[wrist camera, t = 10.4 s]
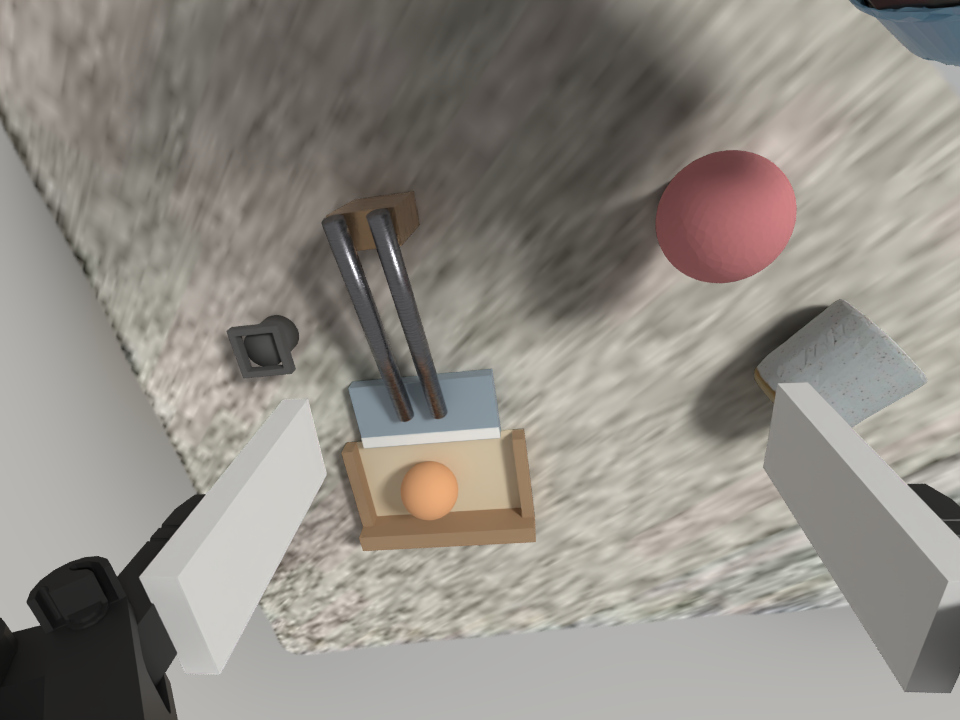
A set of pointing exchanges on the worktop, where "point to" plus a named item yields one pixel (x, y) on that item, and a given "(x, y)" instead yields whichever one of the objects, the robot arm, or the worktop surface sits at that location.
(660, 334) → the worktop surface
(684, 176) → the light bulb
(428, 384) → the ramp
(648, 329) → the worktop surface
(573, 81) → the worktop surface
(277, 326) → the tee
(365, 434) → the block
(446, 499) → the ball
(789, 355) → the ceramic mug
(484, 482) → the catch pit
